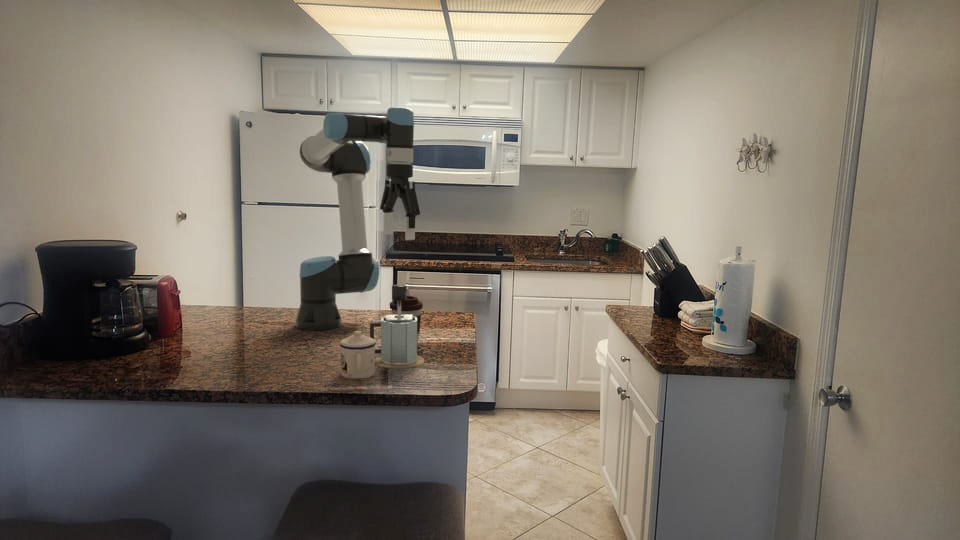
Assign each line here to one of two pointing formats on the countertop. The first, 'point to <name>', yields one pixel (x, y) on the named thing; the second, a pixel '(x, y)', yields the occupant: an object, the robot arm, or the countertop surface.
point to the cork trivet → (379, 363)
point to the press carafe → (397, 339)
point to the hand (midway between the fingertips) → (398, 237)
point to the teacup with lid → (357, 356)
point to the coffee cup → (409, 309)
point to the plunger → (399, 296)
